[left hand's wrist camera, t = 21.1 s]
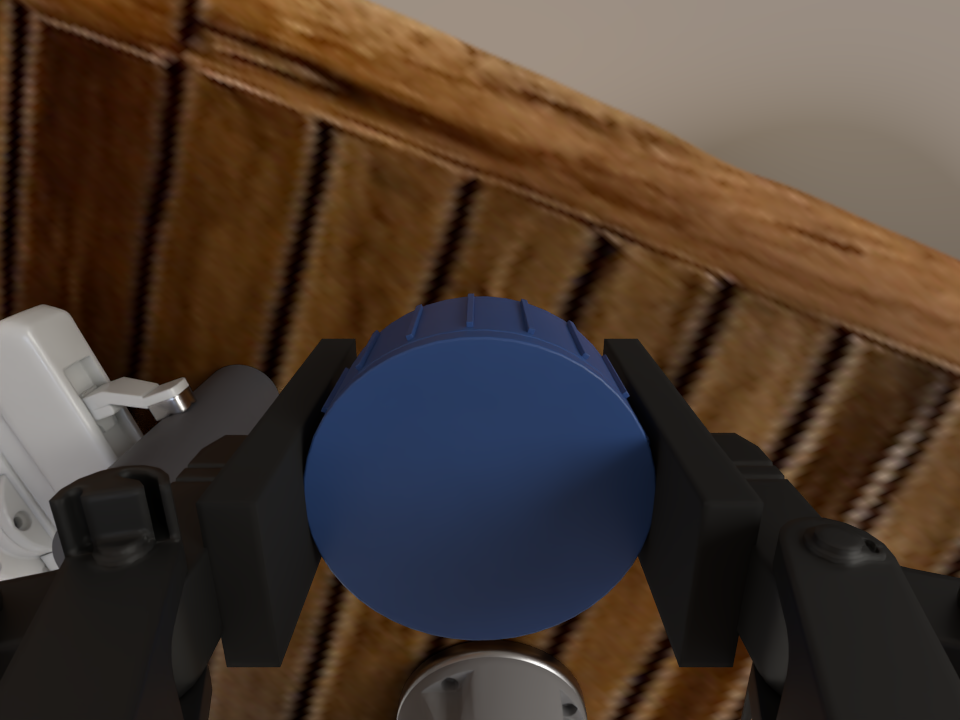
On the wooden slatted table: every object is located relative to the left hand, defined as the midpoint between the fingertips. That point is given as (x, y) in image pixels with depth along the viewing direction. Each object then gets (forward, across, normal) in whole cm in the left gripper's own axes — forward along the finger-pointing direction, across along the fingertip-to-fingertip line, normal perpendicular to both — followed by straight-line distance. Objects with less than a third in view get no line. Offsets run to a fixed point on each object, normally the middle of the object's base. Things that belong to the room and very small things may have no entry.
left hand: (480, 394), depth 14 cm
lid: (-4, 0, 0) cm, 4 cm away
